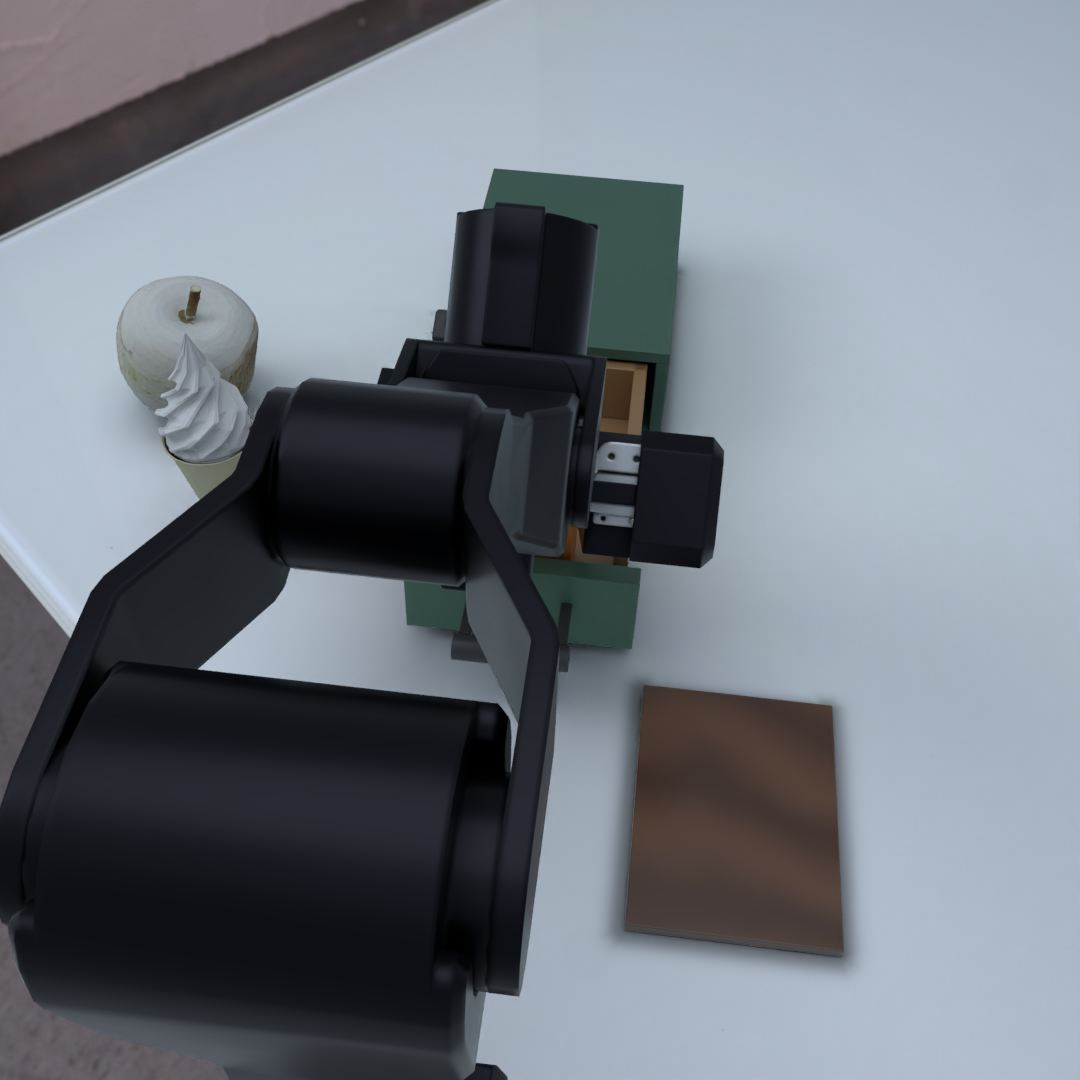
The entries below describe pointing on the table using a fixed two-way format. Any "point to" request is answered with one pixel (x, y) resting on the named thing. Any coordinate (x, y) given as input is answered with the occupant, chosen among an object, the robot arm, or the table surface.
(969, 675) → the table surface
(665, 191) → the cabinet
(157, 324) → the decorative object
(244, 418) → the ice cream cone
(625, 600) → the drawer
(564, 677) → the table surface
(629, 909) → the board
